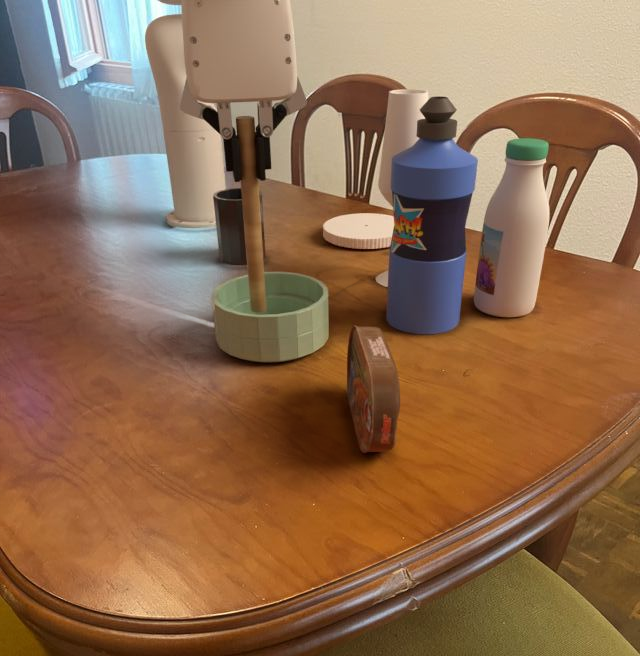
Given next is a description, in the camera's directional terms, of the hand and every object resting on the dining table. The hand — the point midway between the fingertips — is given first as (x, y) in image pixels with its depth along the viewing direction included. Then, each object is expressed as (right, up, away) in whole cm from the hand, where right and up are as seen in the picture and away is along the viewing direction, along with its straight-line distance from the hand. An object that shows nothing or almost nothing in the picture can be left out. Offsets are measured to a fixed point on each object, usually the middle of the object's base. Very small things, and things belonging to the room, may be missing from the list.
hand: (249, 176), depth 66 cm
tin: (+12, -25, -4) cm, 28 cm away
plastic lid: (+15, +5, +42) cm, 44 cm away
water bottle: (+20, -12, +16) cm, 28 cm away
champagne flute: (+18, -5, +27) cm, 33 cm away
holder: (-5, 0, +35) cm, 35 cm away
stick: (0, -12, +8) cm, 15 cm away
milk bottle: (+31, -10, +19) cm, 38 cm away
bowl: (+2, -15, +12) cm, 19 cm away
